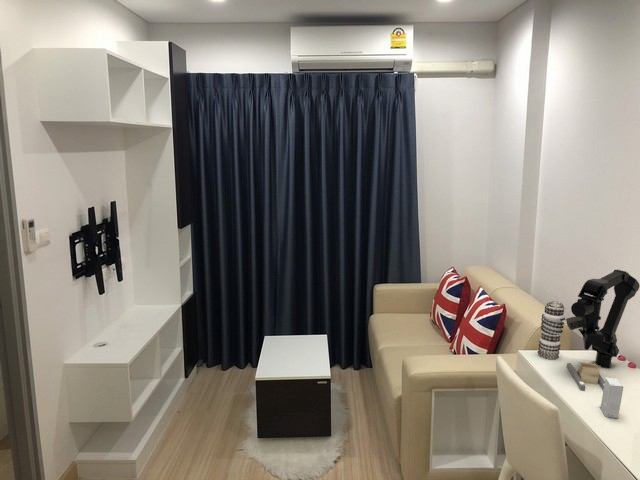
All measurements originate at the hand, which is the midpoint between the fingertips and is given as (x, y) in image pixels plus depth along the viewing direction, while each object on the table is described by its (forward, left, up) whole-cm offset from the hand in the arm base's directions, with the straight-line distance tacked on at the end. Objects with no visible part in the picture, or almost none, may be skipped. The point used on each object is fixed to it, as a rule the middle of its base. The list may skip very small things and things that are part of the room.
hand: (586, 349), depth 210 cm
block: (+7, 0, -10) cm, 12 cm away
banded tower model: (-14, -10, -11) cm, 21 cm away
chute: (+6, 0, -11) cm, 13 cm away
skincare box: (+29, +1, -11) cm, 31 cm away
